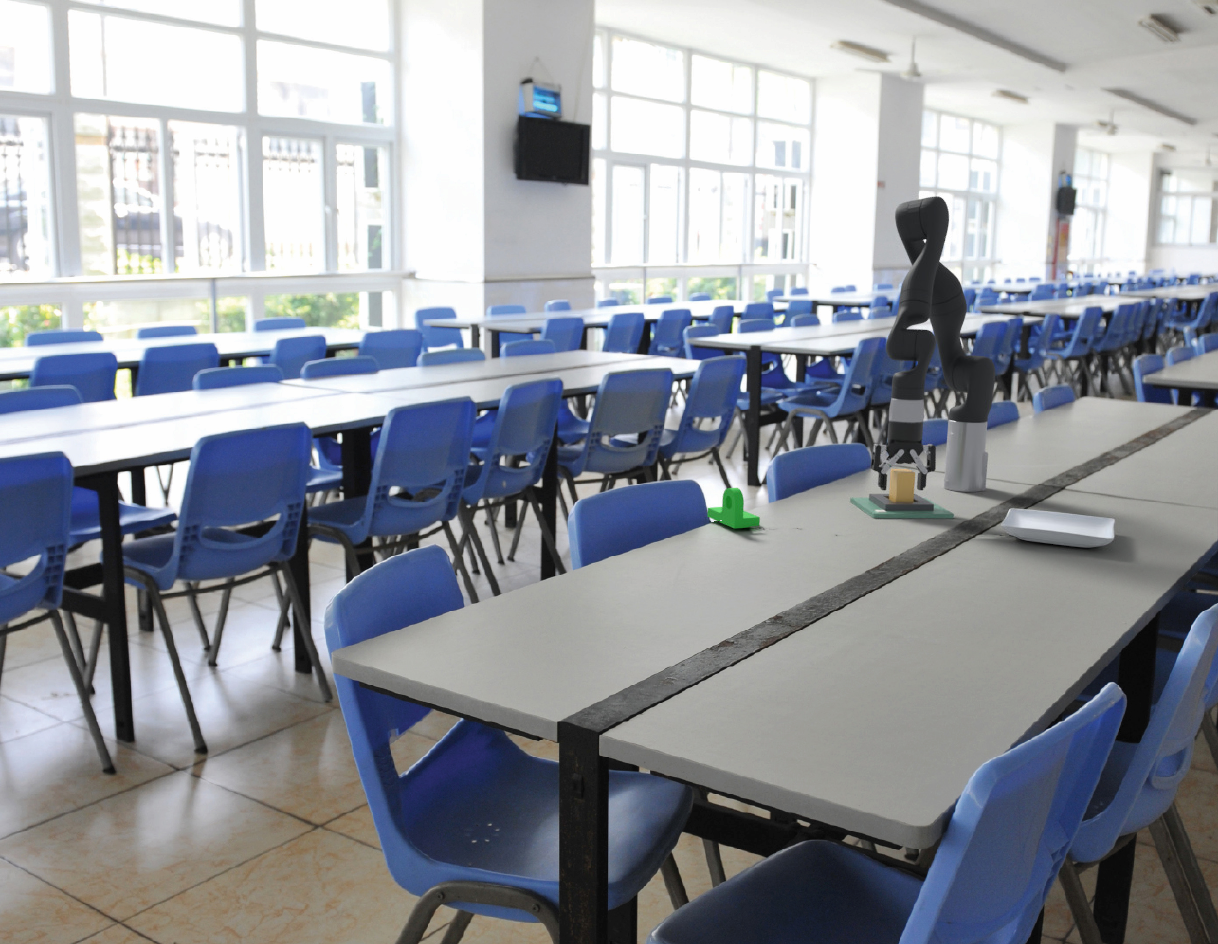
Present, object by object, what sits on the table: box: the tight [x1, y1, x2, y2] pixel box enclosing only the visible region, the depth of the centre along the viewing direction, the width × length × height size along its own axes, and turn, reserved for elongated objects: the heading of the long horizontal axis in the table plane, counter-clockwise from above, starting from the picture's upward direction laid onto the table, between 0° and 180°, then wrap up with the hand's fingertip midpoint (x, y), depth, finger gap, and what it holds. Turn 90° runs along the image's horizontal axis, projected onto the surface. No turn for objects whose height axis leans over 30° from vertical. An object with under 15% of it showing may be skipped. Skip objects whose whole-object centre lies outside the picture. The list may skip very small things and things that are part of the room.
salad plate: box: [1000, 507, 1116, 548], centre depth 233 cm, size 21×21×3 cm
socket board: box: [849, 493, 955, 519], centre depth 255 cm, size 18×18×2 cm
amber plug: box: [888, 468, 916, 502], centre depth 255 cm, size 4×5×8 cm
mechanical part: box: [707, 487, 761, 529], centre depth 240 cm, size 12×6×8 cm, turn 23°
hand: (901, 489), depth 255 cm, fingers open, 8 cm apart
